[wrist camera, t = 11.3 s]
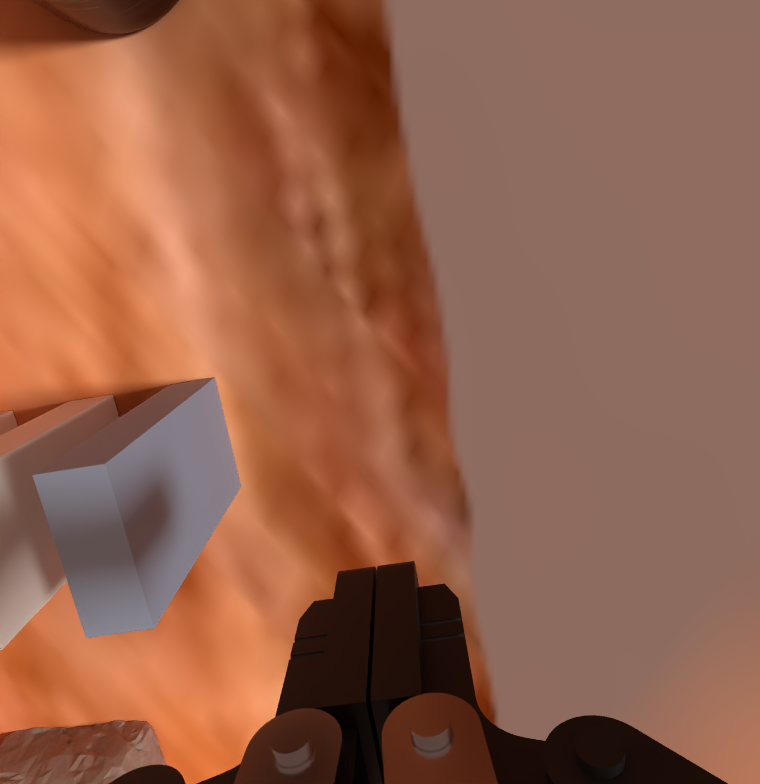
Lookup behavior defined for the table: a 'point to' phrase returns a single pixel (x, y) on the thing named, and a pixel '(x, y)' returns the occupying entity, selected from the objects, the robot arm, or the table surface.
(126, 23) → the supplement bottle
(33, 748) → the brick
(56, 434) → the tile
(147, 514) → the tile
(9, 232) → the table surface
